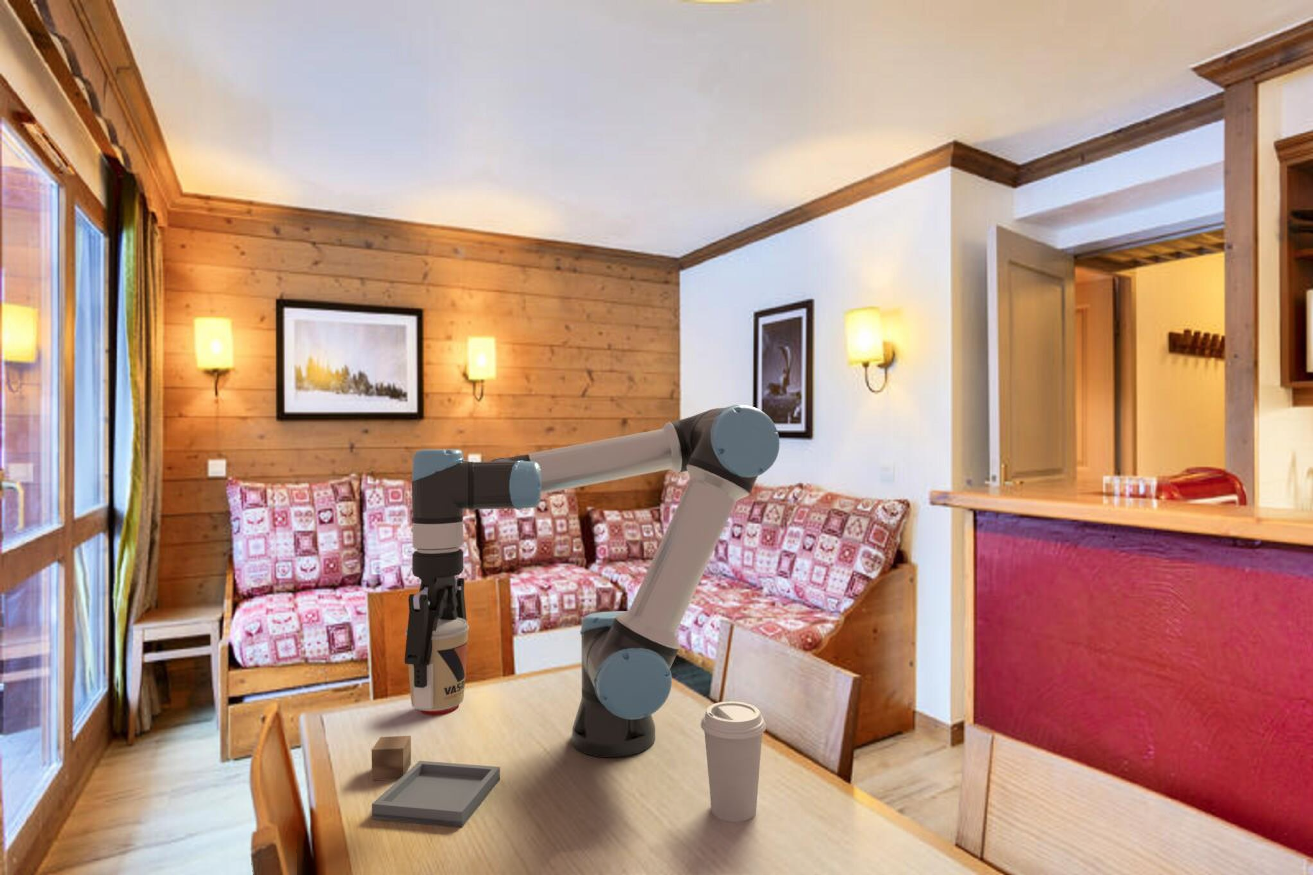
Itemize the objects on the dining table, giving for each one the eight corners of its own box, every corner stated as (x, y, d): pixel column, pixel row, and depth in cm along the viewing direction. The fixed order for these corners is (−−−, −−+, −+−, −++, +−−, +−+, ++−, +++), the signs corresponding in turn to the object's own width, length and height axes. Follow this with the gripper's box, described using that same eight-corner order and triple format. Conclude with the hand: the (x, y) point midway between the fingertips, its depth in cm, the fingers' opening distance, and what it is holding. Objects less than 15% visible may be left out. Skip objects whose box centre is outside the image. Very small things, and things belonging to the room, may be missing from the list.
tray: (499, 780, 115) (499, 766, 115) (462, 827, 101) (461, 811, 101) (419, 773, 117) (419, 760, 117) (371, 818, 103) (371, 803, 103)
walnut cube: (410, 764, 120) (410, 735, 121) (403, 778, 116) (403, 748, 116) (380, 766, 120) (380, 736, 120) (371, 780, 115) (371, 749, 115)
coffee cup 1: (451, 715, 103) (450, 633, 103) (393, 710, 105) (392, 630, 105) (479, 692, 113) (479, 617, 113) (425, 688, 114) (425, 614, 114)
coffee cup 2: (700, 796, 109) (699, 699, 109) (762, 796, 109) (761, 699, 109) (702, 830, 100) (701, 724, 100) (770, 831, 99) (769, 724, 99)
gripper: (447, 538, 120) (447, 672, 120) (377, 560, 99) (377, 721, 99) (488, 539, 119) (489, 674, 119) (426, 561, 98) (427, 725, 98)
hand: (438, 695), depth 109 cm, fingers closed on coffee cup 1, 9 cm apart
